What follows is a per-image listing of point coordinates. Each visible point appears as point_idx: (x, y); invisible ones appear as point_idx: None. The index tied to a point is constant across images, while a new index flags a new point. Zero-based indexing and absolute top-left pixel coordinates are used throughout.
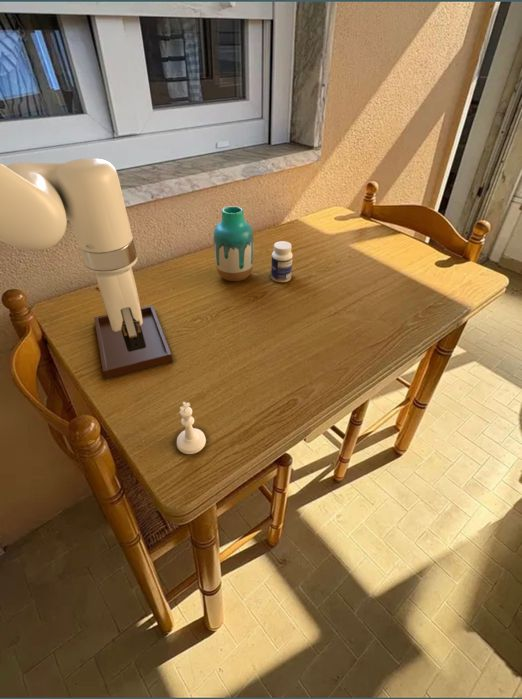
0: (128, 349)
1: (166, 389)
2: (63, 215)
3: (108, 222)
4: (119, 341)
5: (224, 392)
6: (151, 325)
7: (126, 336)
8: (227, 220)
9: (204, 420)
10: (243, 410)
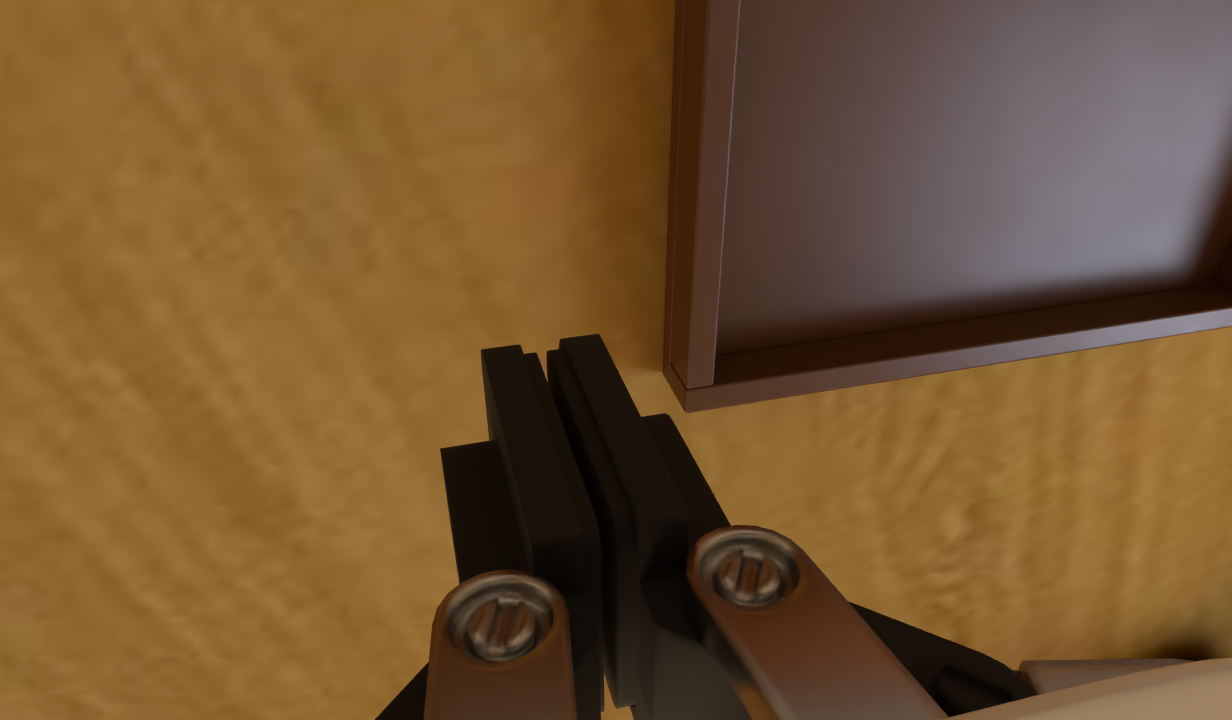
0: (487, 372)
1: (388, 315)
2: None
3: None
4: (1065, 19)
5: (265, 626)
6: (1084, 274)
7: (525, 541)
8: None
9: (10, 520)
10: (82, 704)
